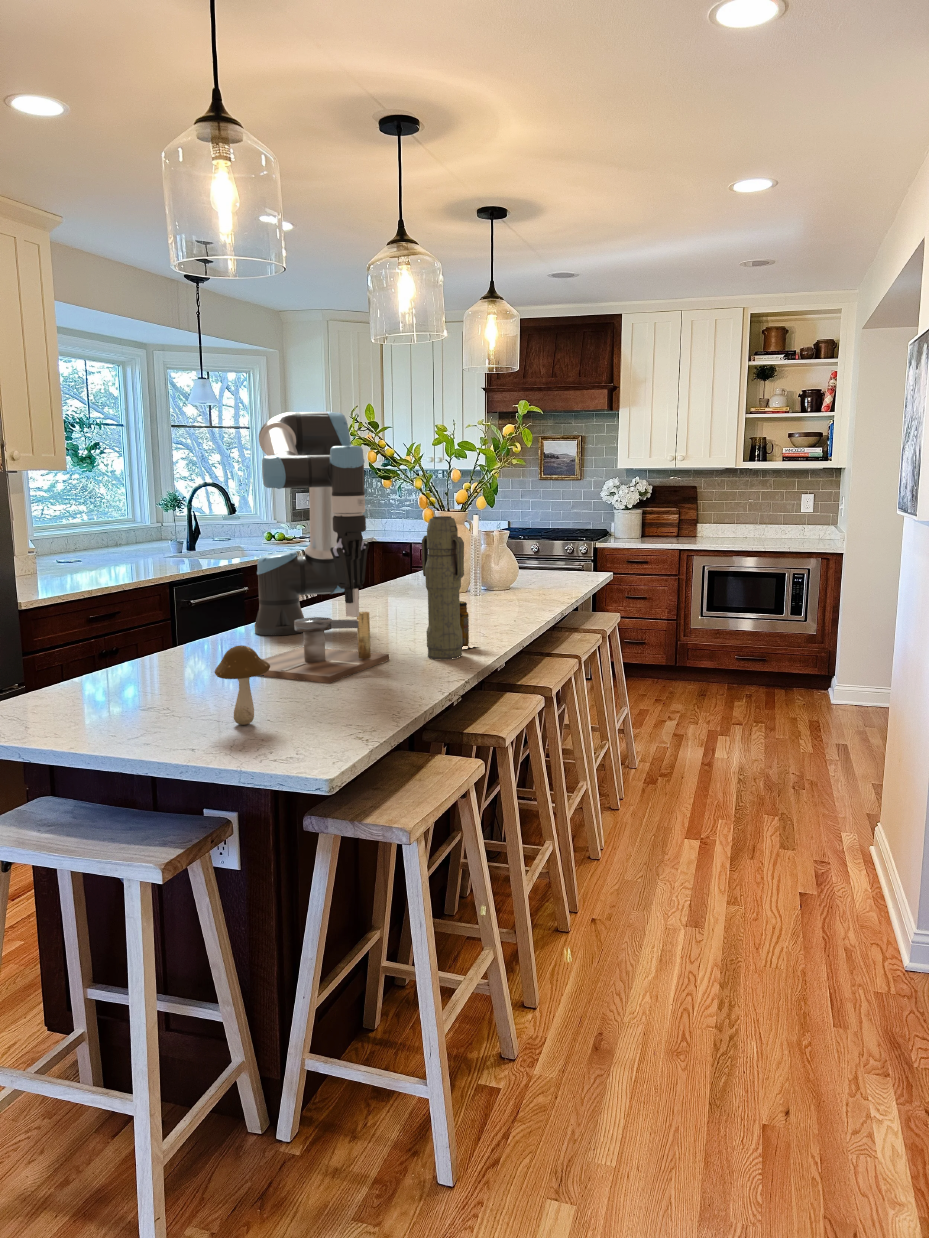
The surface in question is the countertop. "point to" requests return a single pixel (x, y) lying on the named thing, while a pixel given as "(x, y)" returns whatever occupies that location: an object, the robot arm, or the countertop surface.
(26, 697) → the countertop surface
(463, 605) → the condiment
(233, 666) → the mushroom
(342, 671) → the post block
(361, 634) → the crank handle
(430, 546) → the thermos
